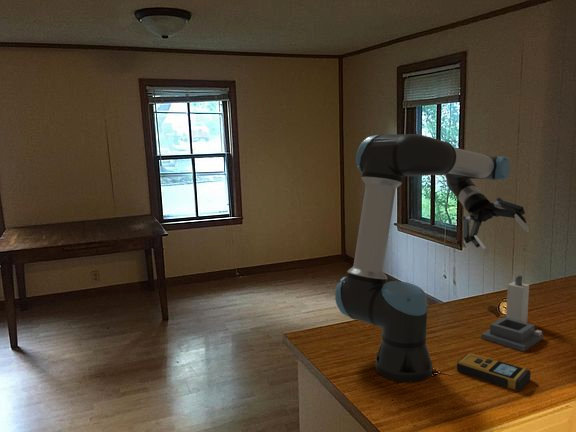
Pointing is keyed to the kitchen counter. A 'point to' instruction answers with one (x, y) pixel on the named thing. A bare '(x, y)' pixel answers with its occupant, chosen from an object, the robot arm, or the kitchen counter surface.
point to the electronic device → (494, 371)
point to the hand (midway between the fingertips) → (506, 240)
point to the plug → (517, 300)
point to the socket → (513, 334)
